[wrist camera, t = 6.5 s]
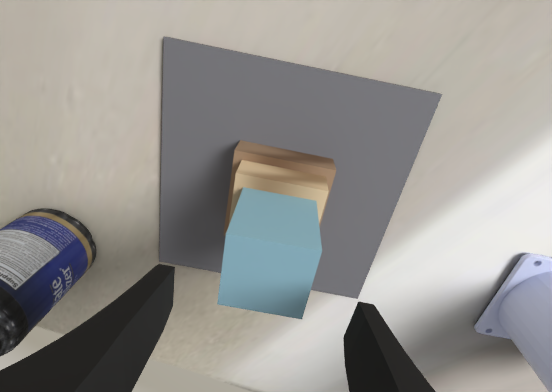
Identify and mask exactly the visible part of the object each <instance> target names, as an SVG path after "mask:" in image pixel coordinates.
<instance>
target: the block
mask: <svg viewBox="0 0 552 392" xmlns="http://www.w3.org/2000/svg"><path fill="white" fill-rule="evenodd" d="M321 253H322V245H321V236H320V227H319V219H318V210H317V201H315V200H310V199H304V198H299V197H294V196H288V195H283V194H278V193H272V192H267V191H261V190H256V189H251V188H245V187H243V189H242V192H241V195H240V197H239V200H238V203H237V205H236V208H235V211H234V213H233V216H232V219H231V222H230V224H229V227H228V230H227V232H226V238H225V246H224V254H223V262H222V271H221V279H220V287H219V295H218V303H217V304H219V305H224V306H230V307H236V308H241V309H247V310H253V311H258V312H264V313H269V314H275V315H281V316H286V317H292V318H298V319H302V317H303V314H304V310H305V307H306V303H307V300H308V297H309V293H310V290H311V287H312V283H313V280H314V277H315V273H316V270H317V267H318V263H319V260H320V257H321Z"/></svg>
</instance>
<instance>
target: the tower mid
mask: <svg viewBox="0 0 552 392" xmlns="http://www.w3.org/2000/svg"><path fill="white" fill-rule="evenodd" d="M243 187H245V188H251V189H256V190H261V191H267V192H272V193H278V194H283V195H288V196H294V197H299V198H304V199H310V200H315V201H317V210H318V219H319V223H320V219H321V216H322V213H323V209H324V206H325V202H326V199H327V196H328V192H329V190H328V185H327V180H326V177H325V176H320V175H315V174H310V173H305V172H300V171H295V170H290V169H285V168H280V167H275V166H270V165H265V164H260V163H255V162H250V161H245V160H242V161H241V163H240V165H239V167H238V169H237V171H236V175H235V182H234V190H233V197H232V204H231V211H230V218H229V224H230V222H231V219H232V216H233V213H234V211H235V208H236V205H237V203H238V200H239V197H240V195H241V192H242V189H243ZM228 227H229V226H228Z"/></svg>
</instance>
